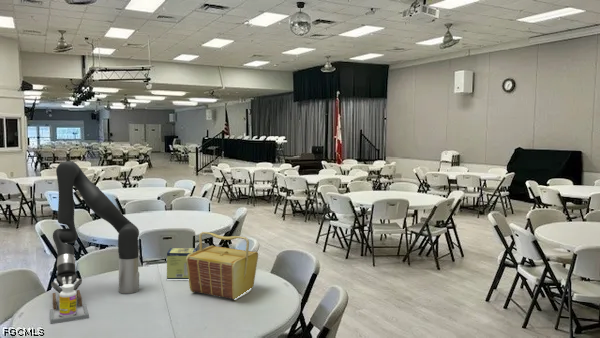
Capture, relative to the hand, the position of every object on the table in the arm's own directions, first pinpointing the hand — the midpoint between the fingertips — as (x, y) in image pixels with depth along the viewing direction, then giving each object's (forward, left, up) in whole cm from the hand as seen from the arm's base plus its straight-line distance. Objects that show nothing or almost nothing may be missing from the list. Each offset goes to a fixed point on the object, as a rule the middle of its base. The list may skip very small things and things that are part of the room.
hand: (67, 300), depth 202 cm
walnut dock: (0, -11, -5) cm, 12 cm away
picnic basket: (-70, +4, -5) cm, 71 cm away
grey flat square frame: (0, +5, -5) cm, 7 cm away
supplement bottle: (0, +4, -5) cm, 6 cm away
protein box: (-58, -27, -5) cm, 64 cm away
